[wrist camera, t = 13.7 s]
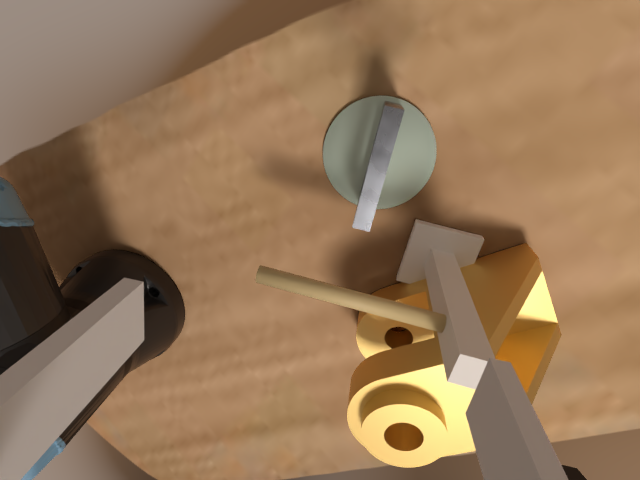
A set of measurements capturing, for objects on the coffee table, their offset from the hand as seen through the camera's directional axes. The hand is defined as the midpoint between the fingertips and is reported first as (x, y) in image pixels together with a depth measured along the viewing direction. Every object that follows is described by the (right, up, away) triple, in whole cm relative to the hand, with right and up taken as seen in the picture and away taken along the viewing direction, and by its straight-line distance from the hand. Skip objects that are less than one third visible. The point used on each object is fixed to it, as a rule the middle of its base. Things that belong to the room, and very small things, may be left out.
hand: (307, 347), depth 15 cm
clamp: (+14, -3, +29) cm, 33 cm away
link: (+6, +12, +23) cm, 27 cm away
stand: (+7, +4, +27) cm, 28 cm away
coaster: (+6, +13, +24) cm, 28 cm away
